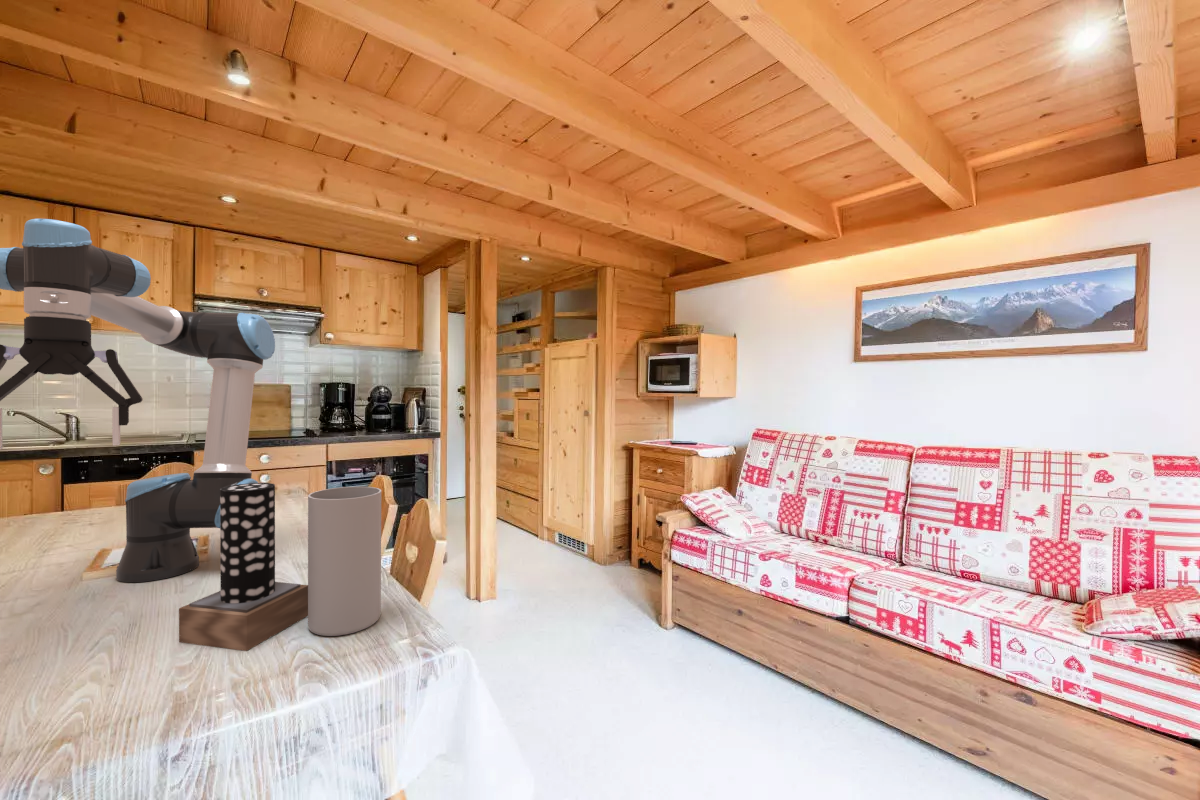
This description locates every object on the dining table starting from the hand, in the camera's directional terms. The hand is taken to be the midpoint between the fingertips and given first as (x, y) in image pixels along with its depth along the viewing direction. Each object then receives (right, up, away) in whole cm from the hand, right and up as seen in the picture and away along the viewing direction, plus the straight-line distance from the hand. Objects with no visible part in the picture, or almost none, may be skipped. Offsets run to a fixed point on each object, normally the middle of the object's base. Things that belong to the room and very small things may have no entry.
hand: (59, 447), depth 83 cm
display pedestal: (+23, -35, +11) cm, 43 cm away
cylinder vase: (+40, -35, +14) cm, 55 cm away
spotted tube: (+24, -29, +11) cm, 39 cm away
